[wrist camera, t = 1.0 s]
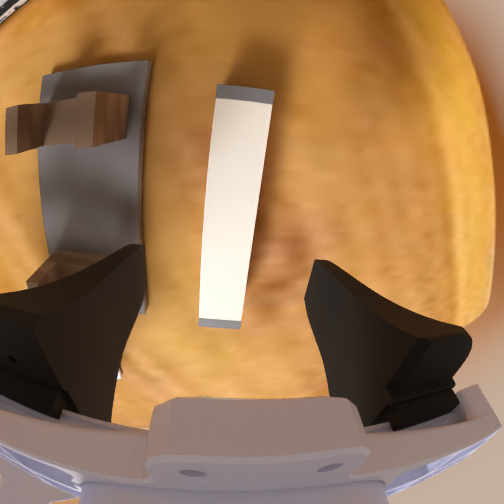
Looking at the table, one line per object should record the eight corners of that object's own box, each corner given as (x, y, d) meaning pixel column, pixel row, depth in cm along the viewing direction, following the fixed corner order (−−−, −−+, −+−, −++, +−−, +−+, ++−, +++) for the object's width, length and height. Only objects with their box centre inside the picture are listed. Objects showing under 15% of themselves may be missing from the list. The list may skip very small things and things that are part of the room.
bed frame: (147, 307, 24) (130, 355, 18) (65, 294, 22) (37, 334, 17) (152, 62, 15) (120, 43, 9) (49, 76, 14) (1, 73, 8)
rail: (238, 297, 24) (240, 329, 20) (202, 294, 23) (198, 326, 20) (265, 96, 17) (274, 90, 13) (220, 91, 16) (217, 84, 13)
